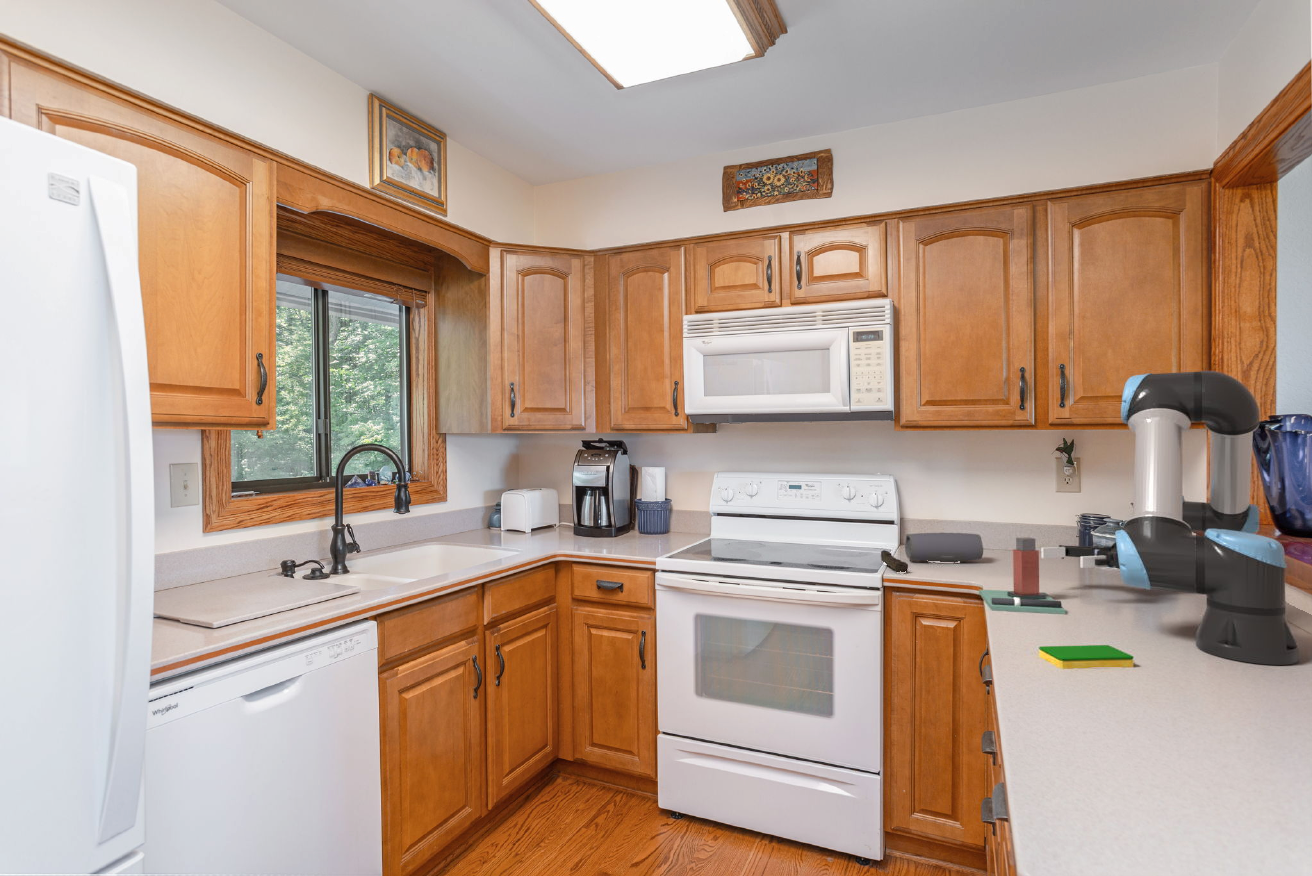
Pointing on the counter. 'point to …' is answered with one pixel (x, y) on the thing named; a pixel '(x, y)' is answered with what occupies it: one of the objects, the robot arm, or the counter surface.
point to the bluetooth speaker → (943, 546)
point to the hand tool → (893, 562)
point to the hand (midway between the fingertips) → (1061, 557)
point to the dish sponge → (1085, 656)
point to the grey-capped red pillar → (1026, 570)
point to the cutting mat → (1020, 603)
